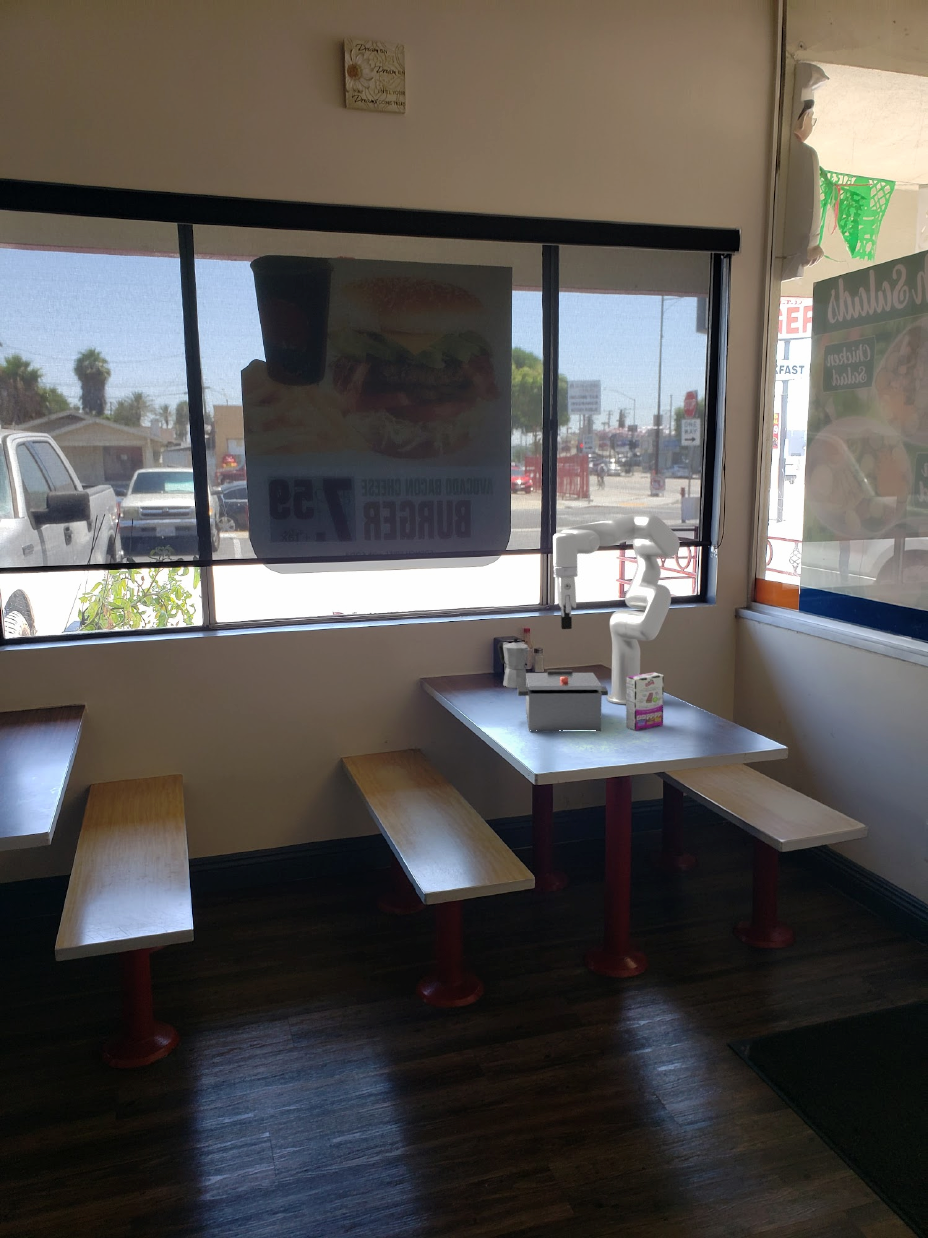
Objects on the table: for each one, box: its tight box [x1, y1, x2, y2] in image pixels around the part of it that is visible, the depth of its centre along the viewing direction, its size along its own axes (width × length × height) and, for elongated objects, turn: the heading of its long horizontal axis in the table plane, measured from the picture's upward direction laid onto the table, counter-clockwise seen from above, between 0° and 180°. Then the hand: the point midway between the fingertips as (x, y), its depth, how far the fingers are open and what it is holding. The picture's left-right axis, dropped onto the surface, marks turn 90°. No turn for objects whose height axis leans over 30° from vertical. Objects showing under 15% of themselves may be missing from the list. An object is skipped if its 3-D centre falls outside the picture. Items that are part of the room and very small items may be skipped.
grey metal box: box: [517, 679, 609, 732], centre depth 285 cm, size 28×22×12 cm
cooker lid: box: [526, 669, 602, 690], centre depth 284 cm, size 22×22×3 cm
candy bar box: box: [625, 672, 665, 732], centre depth 278 cm, size 11×5×16 cm, turn 118°
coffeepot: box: [497, 637, 530, 689], centre depth 333 cm, size 15×9×18 cm, turn 44°
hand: (566, 628), depth 287 cm, fingers closed
